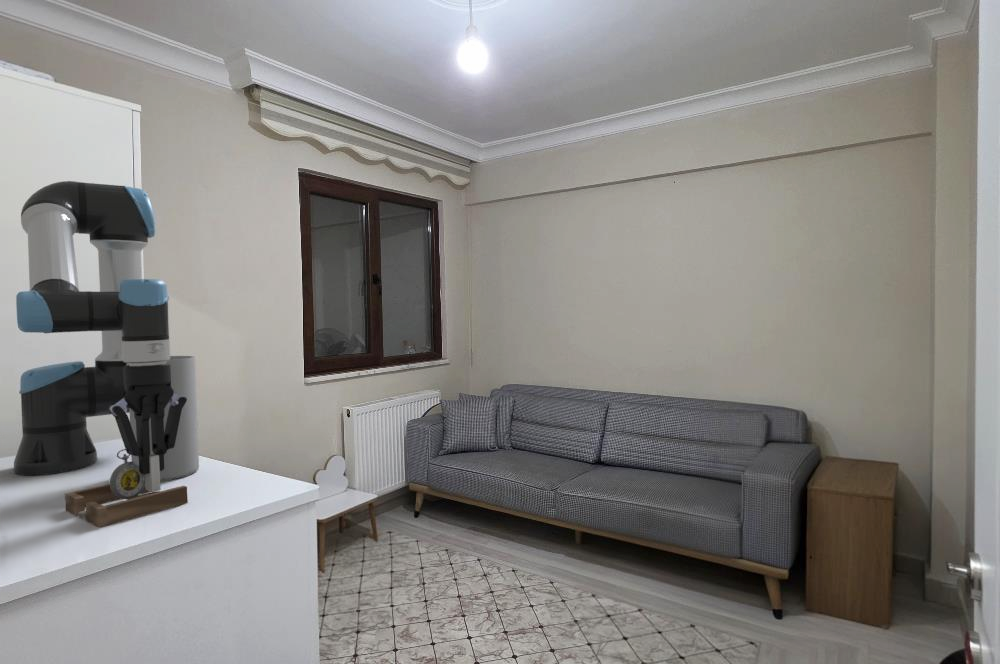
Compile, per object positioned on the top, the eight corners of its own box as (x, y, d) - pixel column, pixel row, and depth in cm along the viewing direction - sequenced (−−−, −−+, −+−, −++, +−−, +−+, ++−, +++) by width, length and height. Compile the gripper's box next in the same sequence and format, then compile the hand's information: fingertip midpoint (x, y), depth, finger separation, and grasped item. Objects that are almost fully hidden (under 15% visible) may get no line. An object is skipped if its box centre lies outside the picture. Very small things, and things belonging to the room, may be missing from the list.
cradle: (65, 510, 104) (64, 493, 104) (150, 489, 115) (150, 474, 115) (99, 527, 95) (98, 509, 95) (187, 502, 107) (187, 486, 107)
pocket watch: (159, 506, 103) (149, 451, 102) (106, 515, 102) (96, 459, 101) (175, 491, 111) (166, 440, 110) (126, 499, 110) (117, 447, 109)
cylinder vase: (118, 479, 123) (113, 360, 122) (171, 463, 134) (167, 355, 133) (160, 485, 118) (155, 361, 117) (212, 469, 130) (208, 356, 128)
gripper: (116, 367, 100) (123, 503, 101) (193, 361, 111) (198, 484, 112) (98, 365, 105) (105, 495, 106) (173, 359, 115) (178, 477, 116)
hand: (153, 489), depth 109 cm, fingers closed
